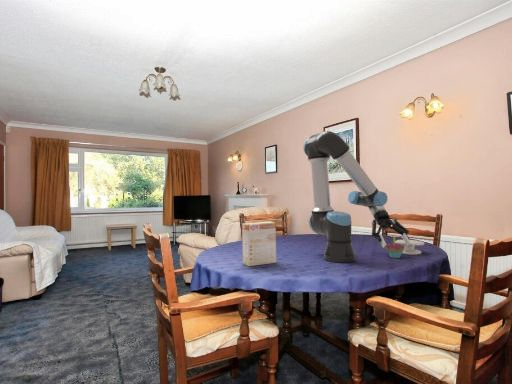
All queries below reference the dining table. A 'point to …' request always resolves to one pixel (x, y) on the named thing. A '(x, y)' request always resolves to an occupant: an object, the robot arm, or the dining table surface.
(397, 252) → the cupcake
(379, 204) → the robot arm
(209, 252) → the dining table surface
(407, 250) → the cake stand
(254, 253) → the coffeecake box
